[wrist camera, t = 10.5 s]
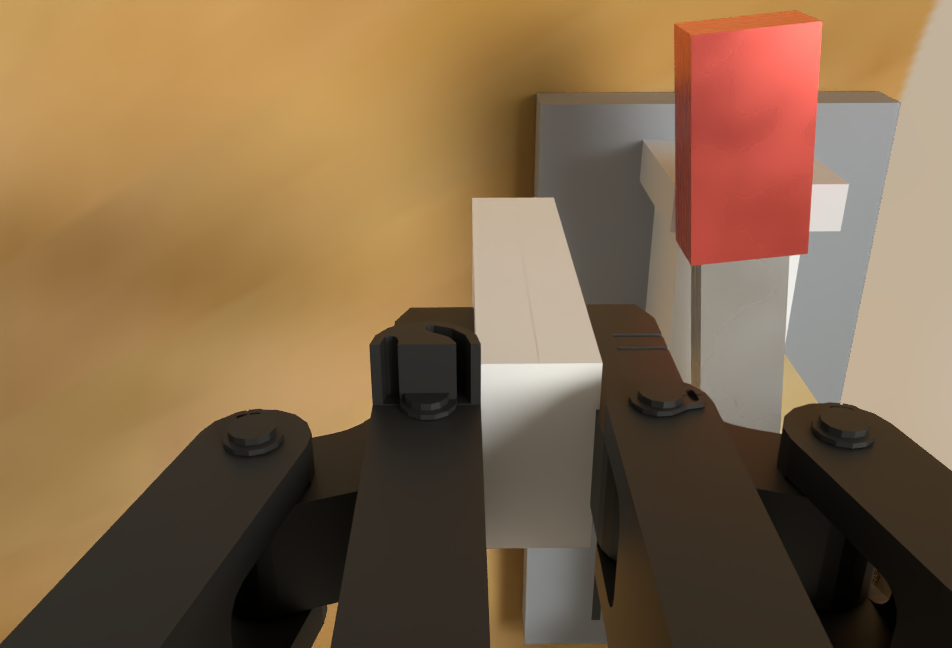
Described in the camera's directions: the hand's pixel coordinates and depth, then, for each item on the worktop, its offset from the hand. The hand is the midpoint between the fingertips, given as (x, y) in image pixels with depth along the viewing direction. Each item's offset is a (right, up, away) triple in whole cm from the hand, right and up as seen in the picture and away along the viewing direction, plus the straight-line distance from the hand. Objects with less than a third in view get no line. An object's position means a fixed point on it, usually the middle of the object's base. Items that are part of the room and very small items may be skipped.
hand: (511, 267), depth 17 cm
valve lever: (+6, -1, +6) cm, 8 cm away
